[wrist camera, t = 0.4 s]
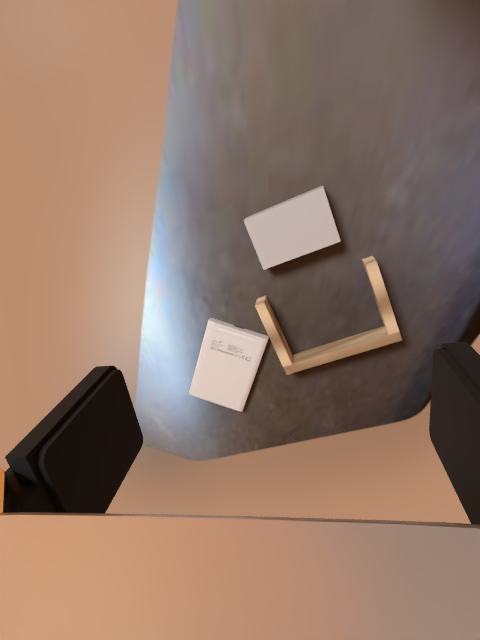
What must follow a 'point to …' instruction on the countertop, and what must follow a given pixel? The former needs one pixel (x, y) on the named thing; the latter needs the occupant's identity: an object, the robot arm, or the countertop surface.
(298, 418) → the countertop surface
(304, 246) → the light grey slab
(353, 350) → the pine rack
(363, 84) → the countertop surface
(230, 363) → the external hard drive
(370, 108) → the countertop surface
